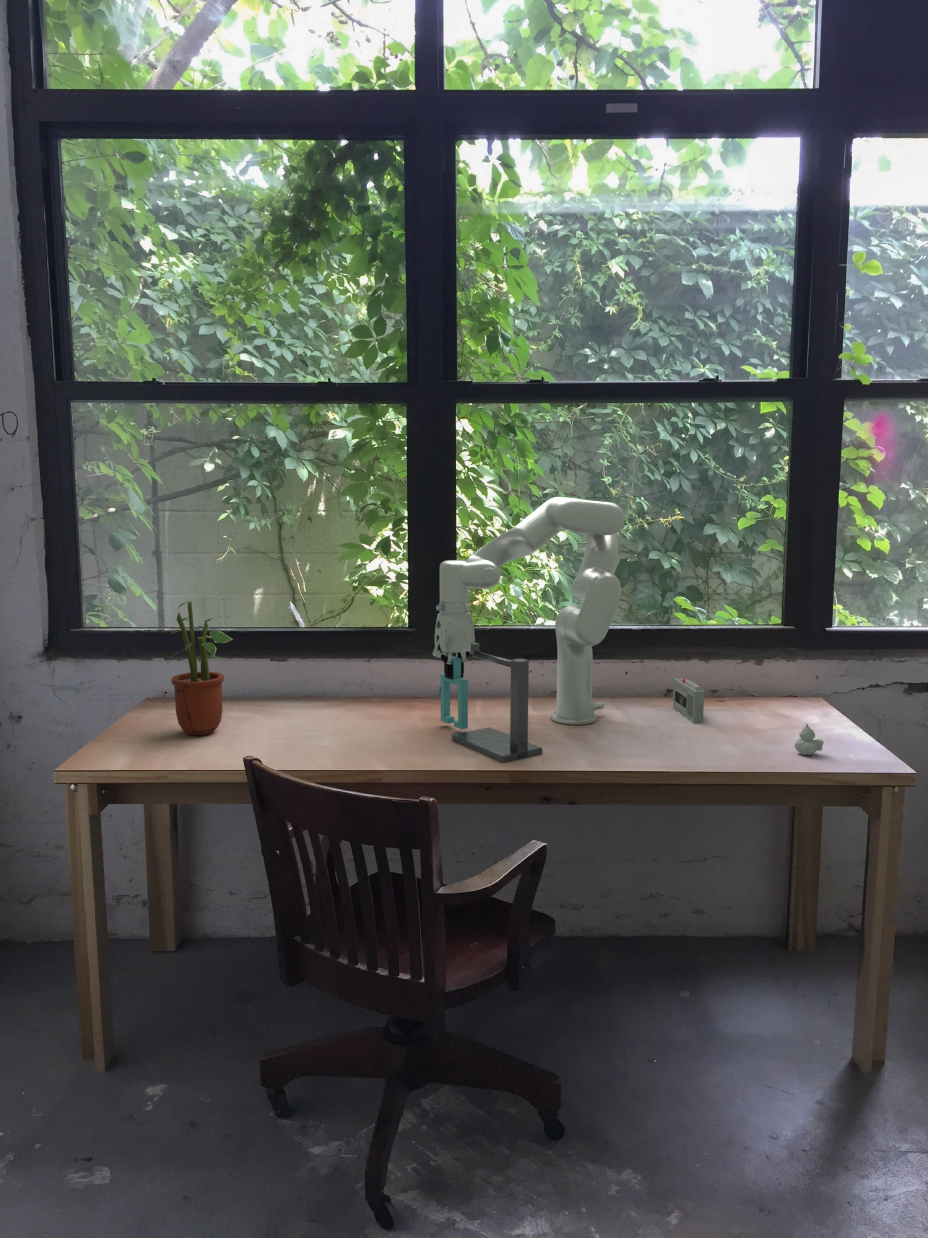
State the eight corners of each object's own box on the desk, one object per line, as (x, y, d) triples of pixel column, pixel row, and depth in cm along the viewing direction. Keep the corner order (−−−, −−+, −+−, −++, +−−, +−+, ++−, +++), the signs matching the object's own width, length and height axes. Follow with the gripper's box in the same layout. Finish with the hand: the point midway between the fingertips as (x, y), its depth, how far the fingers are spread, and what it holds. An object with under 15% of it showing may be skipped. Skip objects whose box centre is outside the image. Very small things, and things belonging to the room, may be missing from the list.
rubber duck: (792, 750, 221) (794, 719, 220) (820, 752, 220) (822, 720, 219) (796, 757, 216) (798, 725, 215) (825, 758, 215) (827, 726, 214)
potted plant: (211, 741, 228) (205, 604, 223) (155, 737, 231) (148, 602, 226) (242, 723, 245) (237, 595, 240) (189, 719, 248) (183, 593, 243)
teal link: (468, 728, 236) (468, 660, 233) (460, 729, 234) (460, 661, 231) (447, 719, 244) (447, 654, 241) (439, 721, 242) (439, 655, 240)
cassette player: (672, 709, 261) (674, 675, 259) (681, 708, 261) (683, 675, 259) (693, 723, 245) (694, 687, 244) (702, 723, 246) (704, 687, 244)
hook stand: (490, 732, 236) (490, 640, 232) (542, 753, 218) (543, 653, 215) (451, 740, 229) (451, 645, 225) (502, 762, 212) (503, 659, 208)
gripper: (435, 612, 227) (435, 684, 229) (487, 607, 235) (487, 676, 238) (420, 608, 233) (420, 678, 236) (471, 604, 242) (471, 671, 244)
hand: (454, 676), depth 237 cm, fingers closed on teal link, 2 cm apart
